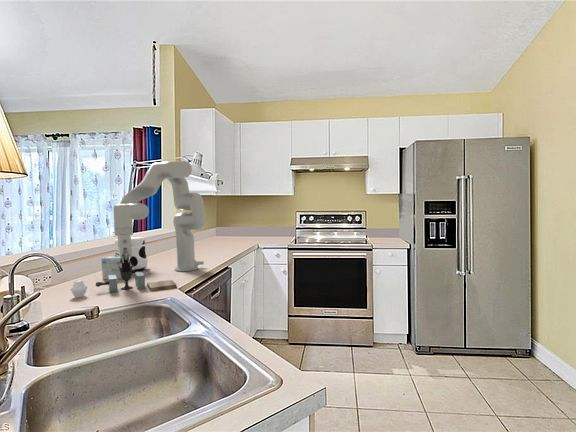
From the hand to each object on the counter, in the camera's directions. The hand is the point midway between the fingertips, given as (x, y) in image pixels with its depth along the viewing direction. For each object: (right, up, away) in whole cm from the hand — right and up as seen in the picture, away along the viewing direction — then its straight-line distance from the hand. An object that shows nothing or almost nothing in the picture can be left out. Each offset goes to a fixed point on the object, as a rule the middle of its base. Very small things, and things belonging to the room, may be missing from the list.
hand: (125, 270), depth 170 cm
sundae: (0, -9, +1) cm, 9 cm away
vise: (-2, -9, 0) cm, 9 cm away
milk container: (-15, -7, +44) cm, 47 cm away
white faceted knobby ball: (-14, -10, -11) cm, 21 cm away
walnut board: (+16, -8, +2) cm, 18 cm away
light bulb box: (-16, -8, +26) cm, 32 cm away
